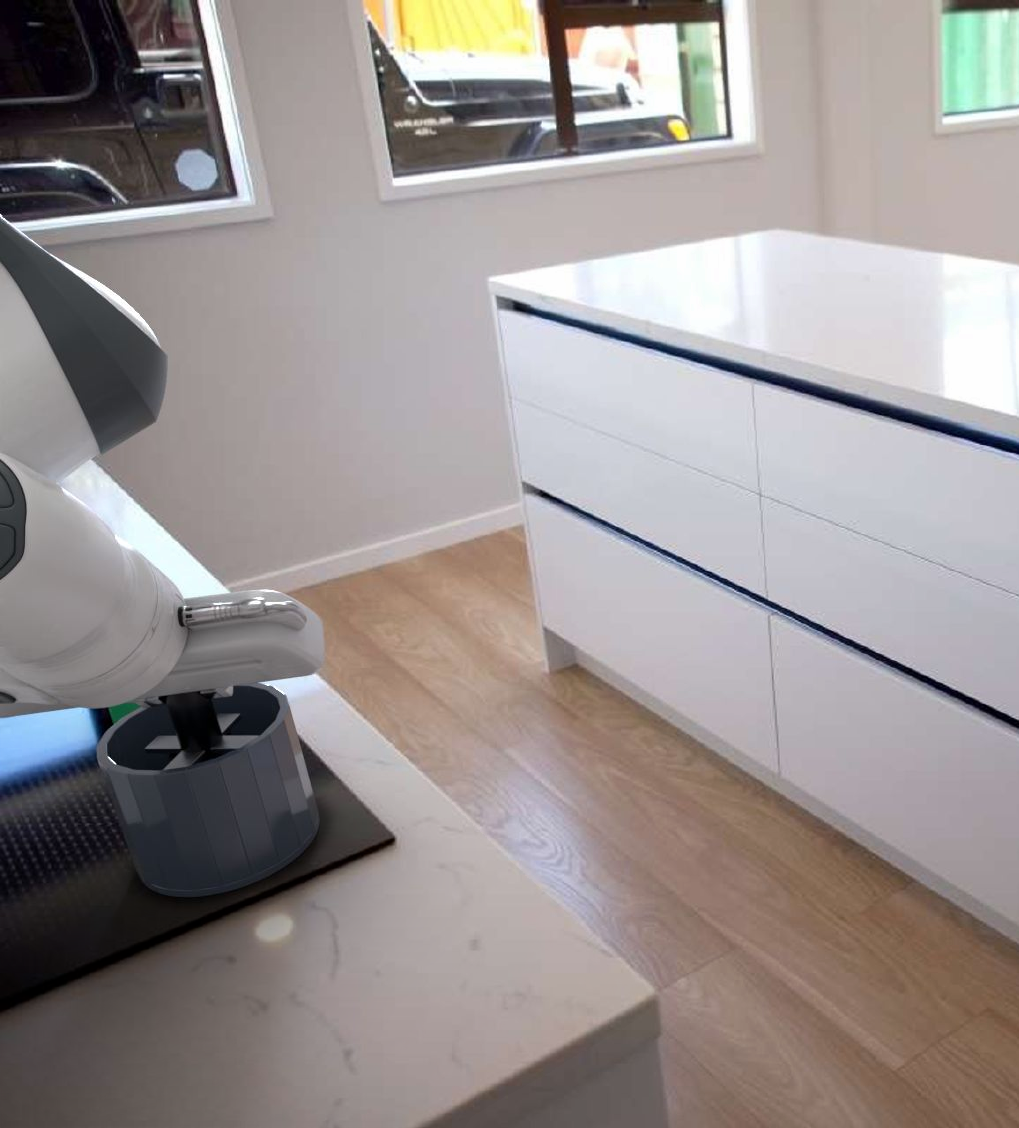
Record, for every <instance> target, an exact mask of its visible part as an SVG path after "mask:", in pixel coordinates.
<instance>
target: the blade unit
mask: <svg viewBox="0 0 1019 1128" xmlns="http://www.w3.org/2000/svg"><path fill="white" fill-rule="evenodd" d="M164 698H165V701H166V705H167V708H168V711H169V714H170V717H171V720H172V723H173V726H174V729H175V732H176V735H177V736H157V737H156V738H155V739H154V740H153V741H152V742H151V743H150V744H149V745H148V746H147V747H146V748H145V752H146V753H170V755H169V759H168V761H169V764H168V765H167V766H166V767H165V768H164V769H163V770H166V769H173V768H180V767H187V766H191V765H194V764H198V763H201V762H205V761H208V760H212V759H215V758H218V757H220V756H222V755H225V754H227V753H229V752H231V751H234V750H236V749H238V748H241V747H242V746H244V745H246V744H247V743H249V742H250V741H252V740H253V739H255V738H257V737H258V736H236V735H235V734H232V733H228V732H229V731H230V730H231V729H232V728H233V727H234V726H235V725H236V724H237V723H238V722H239V721H240V720H241V719H242V716H241V714H218V715H216V711H215V708H214V705H213V702H212V699H207V697H206V696H203V695H202V694H200V691H194V692H187V693H180V694H172V695H165V696H164Z"/></svg>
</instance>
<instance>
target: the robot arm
mask: <svg viewBox="0 0 1019 1128" xmlns="http://www.w3.org/2000/svg"><path fill="white" fill-rule="evenodd" d="M168 364H169V361H168V354H167V353H166V352H165V351H164V350H163V348H162V346H161V344H160V341H159V340H158V338H157V337H156V335H155V333H154V331H153V330H152V329H151V328H150V326H149V325H148V323H147V322H146V321H145V320H144V319H143V318H142V317H141V316H140V314H139V313H138V312H137V311H135V309H134V308H133V307H132V306H130V305H129V304H128V303H127V302H126V301H125V300H124V299H122V298H121V297H120V296H119V295H118V294H116V293H115V292H114V291H112V290H111V289H109V288H108V287H106V286H105V285H104V284H102V283H101V282H99V281H97V280H96V279H94V278H93V277H91V276H89V275H88V274H86V273H84V272H83V271H82V270H80V269H77V268H76V267H74V266H72V265H70V264H69V263H67V262H65V261H64V260H62V259H60V258H58V257H56V256H55V255H53V254H52V253H50V252H48V251H47V250H45V249H44V248H43V247H42V246H41V245H39V244H38V243H37V242H35V241H34V240H33V239H31V238H30V237H28V236H27V235H26V234H25V233H23V232H22V231H21V230H19V228H17V227H15V226H14V225H13V224H12V223H10V221H8V220H7V219H6V218H5V217H4V216H3V215H2V214H1V213H0V719H8V718H14V717H21V716H29V715H34V714H40V713H49V712H50V713H51V712H57V711H64V710H69V709H77V708H80V709H81V708H82V709H106V708H108V707H112V706H116V705H120V704H123V703H136V704H137V705H139V706H141V707H142V708H149V707H157V706H163V705H166V701H165V698H164V696H165V695H172V694H180V693H187V692H194V691H200V694H202V695H203V696H206V697H207V699H212V698H221V697H229V696H232V695H233V686H237V685H245V684H252V683H265V682H273V681H280V680H286V679H295V678H302V677H308V676H312V675H314V674H317V673H318V672H319V671H321V670H322V669H323V668H324V666H325V664H326V637H325V627H324V623H323V622H324V621H322V619H321V617H320V616H319V615H318V614H317V613H316V612H314V611H313V610H311V608H310V607H308V606H306V605H304V604H303V603H302V602H301V601H299V600H297V599H296V598H294V597H292V596H290V595H288V594H285V593H283V592H281V591H275V590H271V589H270V590H269V589H251V590H240V591H233V592H224V593H218V594H210V595H201V596H195V597H186V598H184V596H183V594H182V592H181V590H180V589H179V588H178V586H177V585H176V584H175V583H174V582H173V581H172V580H171V578H170V577H168V576H167V575H166V574H165V573H164V572H162V571H161V570H160V569H159V568H158V567H157V566H156V565H155V564H154V563H152V562H151V561H150V560H149V559H148V558H147V557H146V556H145V555H143V554H142V553H141V552H140V551H139V550H138V549H137V548H136V547H134V546H133V545H132V544H130V543H128V542H127V541H125V540H124V539H122V538H121V537H118V536H117V535H115V533H114V532H113V530H112V529H111V528H110V526H109V525H108V524H107V523H106V522H105V521H104V519H102V518H101V517H100V516H99V515H98V514H97V513H95V512H94V511H93V509H91V508H90V507H89V506H87V505H86V504H85V503H84V502H82V501H81V500H79V499H78V498H77V497H75V496H74V495H73V494H71V493H70V492H69V491H67V490H66V489H65V488H63V487H62V486H61V485H59V484H60V483H61V482H62V481H64V480H65V479H67V478H68V477H69V476H70V475H72V474H73V473H75V472H76V471H78V469H80V468H81V467H83V466H84V465H86V464H87V463H88V462H90V461H91V460H93V458H95V457H96V456H97V455H99V454H100V455H104V454H106V453H108V452H109V451H111V450H112V449H114V448H116V447H118V446H119V445H121V444H122V443H124V442H126V441H128V440H129V439H130V438H132V437H134V436H135V435H138V434H139V433H140V432H142V431H144V430H145V429H147V428H148V427H150V426H152V425H154V424H155V423H157V420H158V418H159V415H160V413H161V409H162V407H163V403H164V398H165V394H166V388H167V382H168V366H169V365H168Z"/></svg>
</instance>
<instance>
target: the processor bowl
mask: <svg viewBox="0 0 1019 1128" xmlns="http://www.w3.org/2000/svg"><path fill="white" fill-rule="evenodd" d="M212 702H213V705H214V708H215V711H216V715H218V714H241V716H242V719H241V720H240V721H239V722H238V723H237V724H236V725H235V726H234V727H233V728H232V729H231V730H230V731H229V732H228V733H232V734H235V735H236V736H258V737H257V738H255V739H253V740H252V741H250V742H249V743H247V744H246V745H244V746H242V747H241V748H238V749H236V750H234V751H231V752H229V753H227V754H225V755H222V756H220V757H218V758H215V759H212V760H208V761H205V762H201V763H198V764H194V765H191V766H187V767H180V768H173V769H166V770H163V769H164V768H165V767H166V766H167V765H168V764H169V761H168V759H169V755H170V753H146V752H145V748H146V747H147V746H148V745H149V744H150V743H151V742H152V741H153V740H154V739H155V738H156V737H157V736H177V735H176V732H175V729H174V726H173V723H172V720H171V717H170V714H169V711H168V708H167V705H163V706H157V707H149V708H142V707H140V708H138V709H136V710H135V711H133V712H131V713H129V714H127V715H126V716H124V717H123V718H121V719H120V720H119V721H118V722H117V723H115V724H114V723H113V725H112V726H110V728H108V729H107V730H106V731H105V732H104V734H103V735H102V737H101V739H100V740H99V742H98V743H97V745H96V760H97V763H98V766H99V769H100V771H101V774H102V778H103V780H104V783H105V785H106V789H107V792H108V794H109V797H110V800H111V803H112V806H113V809H114V812H115V814H116V817H117V820H118V822H119V826H120V828H121V830H122V831H121V832H122V834H123V838H124V840H125V843H126V846H127V848H128V851H129V855H130V858H131V860H132V863H133V866H134V869H135V872H137V874H138V877H139V878H140V881H141V882H142V883H143V885H144V886H145V887H147V888H148V889H149V890H151V891H153V892H155V893H158V894H160V895H164V896H168V897H174V898H201V897H202V898H203V897H208V896H209V897H210V896H214V895H219V894H223V893H224V894H225V893H228V892H231V891H235V890H239V889H241V888H244V887H247V886H250V885H252V884H255V883H257V882H260V881H263V880H264V879H266V878H268V877H270V876H272V875H274V874H275V873H277V872H279V871H281V870H282V869H284V868H286V867H287V866H289V864H291V863H292V862H294V861H295V860H296V859H298V858H299V857H300V856H301V855H302V854H303V853H304V852H305V851H306V850H307V849H308V848H309V847H310V845H311V844H312V843H313V842H314V840H315V838H316V836H317V834H318V831H319V829H320V822H321V819H320V814H319V809H318V805H317V802H316V798H315V794H314V790H313V786H312V784H311V779H310V776H309V772H308V769H307V764H306V761H305V758H304V757H305V756H304V755H303V750H302V747H301V743H300V740H299V736H298V735H299V734H298V731H297V727H296V724H295V721H294V717H293V713H292V710H291V706H290V705H291V704H290V703H289V699H288V696H287V695H286V693H284V692H283V691H281V689H278V688H277V687H275V686H273V685H270V684H266V683H263V682H259V683H252V684H245V685H237V686H233V695H232V696H229V697H221V698H212Z"/></svg>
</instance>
